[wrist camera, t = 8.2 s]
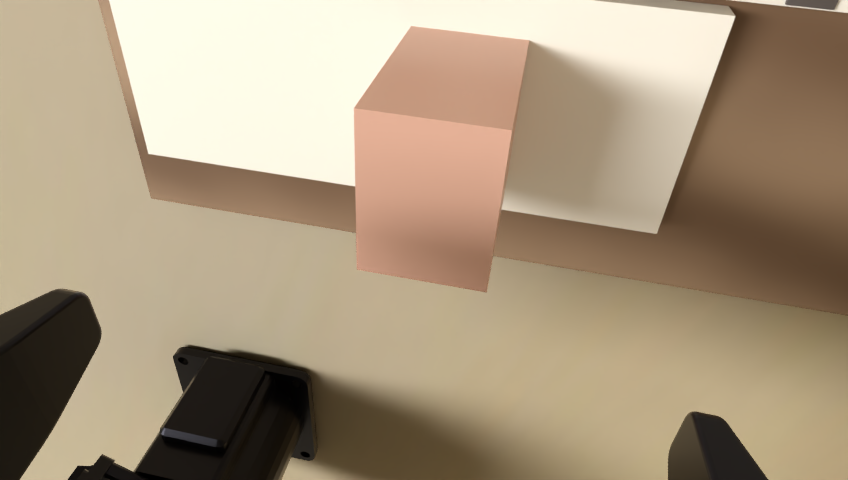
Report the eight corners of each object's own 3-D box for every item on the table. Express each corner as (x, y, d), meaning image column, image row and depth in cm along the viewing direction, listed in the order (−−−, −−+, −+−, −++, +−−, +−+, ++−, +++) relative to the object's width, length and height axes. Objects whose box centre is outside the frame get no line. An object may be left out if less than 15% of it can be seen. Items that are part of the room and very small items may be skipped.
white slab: (653, 218, 18) (679, 363, 14) (161, 142, 20) (40, 245, 16) (728, 6, 14) (799, 107, 10) (113, -61, 16) (-66, -3, 12)
